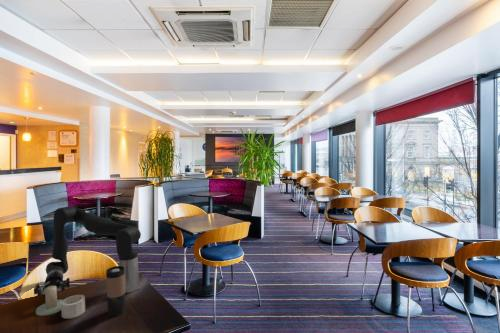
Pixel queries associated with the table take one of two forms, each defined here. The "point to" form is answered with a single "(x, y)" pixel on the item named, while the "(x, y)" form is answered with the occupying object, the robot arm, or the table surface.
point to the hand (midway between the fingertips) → (51, 292)
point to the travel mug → (115, 290)
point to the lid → (49, 302)
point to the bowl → (73, 306)
